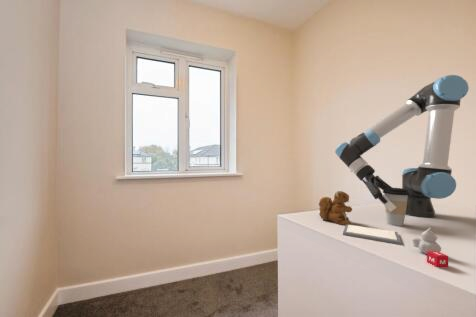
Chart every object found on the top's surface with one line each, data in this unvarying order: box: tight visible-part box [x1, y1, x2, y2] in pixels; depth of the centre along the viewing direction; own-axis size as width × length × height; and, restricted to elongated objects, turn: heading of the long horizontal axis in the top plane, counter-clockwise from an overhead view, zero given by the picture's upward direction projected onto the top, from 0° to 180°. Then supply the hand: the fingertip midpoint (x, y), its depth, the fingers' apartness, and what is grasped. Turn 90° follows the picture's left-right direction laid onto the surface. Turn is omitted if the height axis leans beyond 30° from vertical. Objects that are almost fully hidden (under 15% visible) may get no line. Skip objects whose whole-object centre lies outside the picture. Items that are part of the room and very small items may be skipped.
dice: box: [426, 251, 449, 268], centre depth 60 cm, size 3×3×3 cm
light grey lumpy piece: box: [411, 226, 442, 255], centre depth 67 cm, size 5×7×8 cm
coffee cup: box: [382, 187, 410, 227], centre depth 97 cm, size 9×9×15 cm
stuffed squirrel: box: [318, 190, 353, 226], centre depth 100 cm, size 10×14×13 cm
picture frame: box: [342, 224, 402, 246], centre depth 83 cm, size 17×12×1 cm
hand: (399, 207), depth 96 cm, fingers open, 13 cm apart
